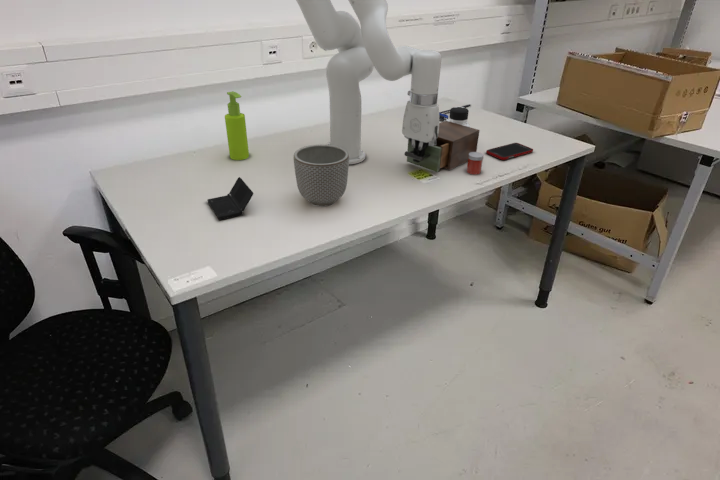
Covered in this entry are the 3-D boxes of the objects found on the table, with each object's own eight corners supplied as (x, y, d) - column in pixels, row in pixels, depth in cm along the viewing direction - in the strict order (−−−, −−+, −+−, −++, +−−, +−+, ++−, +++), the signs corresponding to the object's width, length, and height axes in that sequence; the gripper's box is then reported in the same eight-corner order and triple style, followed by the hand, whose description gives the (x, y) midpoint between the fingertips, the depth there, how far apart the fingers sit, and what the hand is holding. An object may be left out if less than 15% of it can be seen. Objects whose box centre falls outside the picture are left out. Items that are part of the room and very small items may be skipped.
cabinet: (449, 170, 147) (453, 141, 142) (416, 158, 154) (418, 130, 150) (475, 157, 156) (479, 129, 152) (443, 147, 164) (446, 120, 159)
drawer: (426, 177, 140) (429, 153, 137) (396, 165, 147) (397, 142, 143) (462, 160, 152) (465, 137, 148) (432, 150, 158) (434, 128, 155)
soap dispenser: (237, 162, 149) (228, 96, 139) (226, 155, 154) (218, 91, 143) (254, 158, 152) (247, 93, 142) (243, 151, 157) (236, 88, 146)
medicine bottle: (467, 146, 164) (472, 111, 158) (446, 146, 164) (450, 111, 158) (464, 139, 170) (468, 105, 164) (443, 139, 170) (447, 104, 164)
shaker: (471, 175, 144) (473, 158, 141) (463, 170, 148) (465, 152, 145) (483, 173, 146) (486, 156, 143) (475, 168, 149) (478, 151, 146)
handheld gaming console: (199, 199, 124) (219, 166, 123) (221, 207, 130) (241, 176, 128) (219, 222, 118) (241, 188, 116) (241, 230, 123) (262, 197, 122)
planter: (326, 184, 137) (326, 140, 130) (359, 202, 128) (360, 155, 121) (285, 198, 129) (282, 152, 122) (317, 218, 120) (315, 169, 114)
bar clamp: (434, 118, 182) (413, 112, 188) (433, 124, 183) (412, 118, 189) (482, 105, 202) (462, 99, 208) (481, 110, 203) (461, 105, 209)
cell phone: (533, 152, 161) (534, 149, 160) (502, 160, 154) (503, 158, 153) (515, 144, 166) (516, 142, 166) (484, 153, 159) (485, 150, 159)
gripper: (394, 95, 137) (390, 157, 146) (438, 106, 128) (431, 171, 138) (410, 90, 141) (406, 150, 151) (454, 101, 133) (446, 164, 142)
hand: (418, 160), depth 144 cm, fingers closed
